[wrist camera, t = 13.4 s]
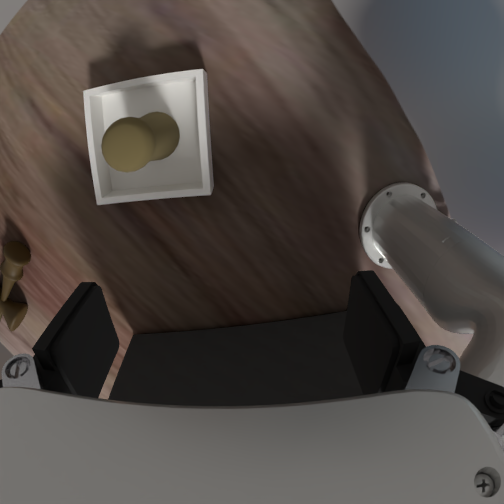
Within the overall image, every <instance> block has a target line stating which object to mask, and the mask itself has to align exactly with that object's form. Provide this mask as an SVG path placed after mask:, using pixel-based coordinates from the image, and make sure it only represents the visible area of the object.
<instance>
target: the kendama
mask: <svg viewBox="0 0 504 504" xmlns="http://www.w3.org/2000/svg"><path fill="white" fill-rule="evenodd" d="M3 253H4V256H5V261H3V262H2V263H1V265H0V270H1V273H2V274H3V283H2V290H1V287H0V321H1V317H2V314H3V316H4V318H5V320H6V323H7V325H8V328H9V329H10V331H11V332H12V331H14V330H15V329H16V328H17V327H18V326H19V325H20V323H21V322H22V320H23V319H24V317H25V315H26V313H27V309H28V305H27V304H25V303H18V302H14V301H12V300H11V299H9V298H8V296H9V293H10V291H11V289H12V287H13V285H14V283H15V281H18V280H20V279H21V278H22V276H23V269H22V268H23V266H24V265H26V264H28V262H29V261H30V259H31V254H30V251H29V250H28V248H27V247H26V246H25V245H23V244H22V243H20V242H17V241H11V242H8V243H7V244H6V245H5V246H4V249H3Z"/></svg>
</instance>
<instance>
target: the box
mask: <svg viewBox="0 0 504 504" xmlns="http://www.w3.org/2000/svg"><path fill="white" fill-rule="evenodd" d="M83 92H84V108H85V120H86V131H87V140H88V149H89V157H90V164H91V171H92V177H93V184H94V190H95V196H96V201H97V205H104V204H113V203H122V202H132V201H142V200H152V199H164V198H176V197H189V196H203V195H211V193H212V191H213V188H214V179H213V165H212V151H211V135H210V119H209V101H208V81H207V73H206V72H205V71H204V70H203V69H197V70H188V71H180V72H172V73H166V74H159V75H153V76H147V77H142V78H136V79H131V80H126V81H122V82H117V83H113V84H108V85H104V86H100V87H96V88H92V89H89V90H85V91H83ZM151 112H163V113H166V114H167V115H169V116H171V117H172V118H173V119H174V120H175V121H176V123H177V125H178V128H179V133H180V139H179V143H178V146H177V147H176V149H175V151H174V152H173V153H172V154H171V155H170V156H169V157H166V158H164V159H162V160H156V161H149V162H148V163H147V164H146V165H145V166H144V167H143V168H141V169H139V170H137V171H135V172H128V173H126V172H121V171H117V170H115V169H113V168H112V167H110V166H109V165H108V163H107V162H106V161H105V159H104V157H103V154H102V148H101V144H102V138H103V136H104V133H105V131H106V130H107V129H108V127H109V126H110V125H111V124H112V123H113V122H115V121H117V120H119V119H120V118H125V117H136V118H140V117H142V116H144V115H146V114H148V113H151Z"/></svg>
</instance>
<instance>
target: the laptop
mask: <svg viewBox="0 0 504 504" xmlns="http://www.w3.org/2000/svg"><path fill="white" fill-rule="evenodd" d="M346 314H347V311H344V312H338V313H332V314H326V315H319V316H313V317H306V318H299V319H292V320H285V321H278V322H270V323H262V324H254V325H245V326H236V327H227V328H217V329H206V330H195V331H183V332H169V333H154V334H137V335H133V337H132V339H131V342H130V344H129V347H128V349H127V352H126V354H125V357H124V359H123V362H122V364H121V367H120V369H119V372H118V375H117V377H116V380H115V382H114V385H113V388H112V390H111V393H110V396H109V399H108V400H116V401H125V402H135V403H147V404H161V405H180V406H257V405H276V404H290V403H302V402H312V401H322V400H331V399H339V398H347V397H354V396H361V395H363V393H362V390H361V387H360V384H359V381H358V379H357V376H356V373H355V370H354V368H353V365H352V362H351V359H350V357H349V354H348V351H347V349H346V346H345V343H344V340H343V332H344V326H345V320H346Z"/></svg>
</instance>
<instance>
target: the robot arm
mask: <svg viewBox="0 0 504 504" xmlns="http://www.w3.org/2000/svg"><path fill="white" fill-rule="evenodd" d="M387 192H388V194H387ZM365 227H366V228H365ZM359 233H360V241H361V245H362V247H363V249H364V251H365V253H366V254H367V255H368V257H369V258H370V259H371V260H372V261H373V262H374V263H376V264H377V265H379V266H382V267H384V268H390V269H394V270H395V272H396V273H397V274H398V275H399V276H400V278H401V279H402V280H403V281H404V283H405V284H406V285H407V286H408V288H409V289H410V290H411V291H412V293H413V294H414V295H415V296H416V298H417V299H418V300H419V302H420V303H421V304H422V306H423V307H424V308H425V309H426V311H427V312H428V314H429V315H430V316H431V317H432V319H433V320H434V321H435V322H436V323H437V324H438V325H439V326H440V327H442V328H443V329H445V330H447V331H449V332H453V333H459V334H474V335H473V337H472V340H471V341H470V343H469V344H468V346H467V347H466V349H465V350H464V352H463V354H462V355H461V357H460V358H458V356H457V355H456V354H455V353H454V352H453V351H452V350H450V349H449V348H446V347H444V346H440V345H431V346H427V347H426V346H425V345H424V343H423V341H422V340H421V338H420V337H419V335H418V334H417V332H416V331H415V329H414V327H413V326H412V324H411V323H410V321H409V320H408V318H407V317H406V315H405V314H404V312H403V311H402V309H401V308H400V306H399V305H398V304H397V303H396V302H395V301H394V299H393V298H392V296H391V295H390V294H389V292H388V291H387V289H386V288H385V286H384V285H383V284H382V282H381V281H380V279H379V278H378V276H377V275H376V274H375V272H374V271H372V270H370V271H358V272H357V274H356V275H355V276H352V279H351V286H350V294H349V301H348V307H347V314H346V320H345V326H344V332H343V340H344V343H345V346H346V349H347V351H348V354H349V357H350V359H351V362H352V365H353V368H354V370H355V373H356V376H357V379H358V381H359V384H360V387H361V390H362V393H363V395H361V396H354V397H347V398H339V399H331V400H322V401H312V402H302V403H290V404H276V405H257V406H180V405H161V404H147V403H135V402H125V401H116V400H107V399H100V398H98V397H99V394H100V392H101V389H102V387H103V384H104V382H105V380H106V377H107V375H108V372H109V370H110V367H111V365H112V363H113V360H114V358H115V356H116V353H117V351H118V349H119V339H118V337H117V334H116V331H115V328H114V325H113V323H112V320H111V317H110V314H109V311H108V308H107V305H106V302H105V298H104V295H103V292H102V289H101V287H100V286H98V285H97V284H96V283H95V282H82V283H80V284H79V286H78V287H77V288H76V289H75V291H74V292H73V293H72V295H71V296H70V297H69V298H68V300H67V301H66V302H65V304H64V305H63V306H62V308H61V309H60V310H59V312H58V313H57V314H56V316H55V317H54V318H53V320H52V321H51V323H50V324H49V325H48V327H47V328H46V329H45V331H44V332H43V334H42V335H41V337H40V338H39V339H38V341H37V342H36V344H35V345H34V347H33V348H32V349H33V351H34V353H35V355H34V357H32V356H30V355H29V354H18V355H15V356H14V357H12V358H10V359H9V360H8V361H7V362H6V363H5V365H4V367H3V369H2V380H0V504H504V256H503V255H502V254H500V253H499V252H497V251H496V250H495V249H493V248H492V247H491V246H489V245H488V244H486V243H485V242H484V241H482V240H481V239H479V238H478V237H477V236H475V235H474V234H472V233H471V232H470V231H468V230H467V229H465V228H463V227H462V226H461V225H459V224H458V223H457V221H456V220H455V219H450V218H449V217H447V216H446V215H444V214H443V213H441V212H439V211H438V210H437V208H436V204H435V202H434V200H433V198H432V197H431V196H430V194H429V193H428V192H427V191H425V190H424V189H423V188H421V187H419V186H417V185H415V184H412V183H407V182H400V183H394V184H391V185H389V186H387V187H385V188H383V189H382V190H380V191H379V192H378V193H377V194H376V195H375V196H373V197H372V199H371V200H370V201H369V203H368V204H367V206H366V208H365V210H364V212H363V214H362V218H361V221H360V228H359Z"/></svg>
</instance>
